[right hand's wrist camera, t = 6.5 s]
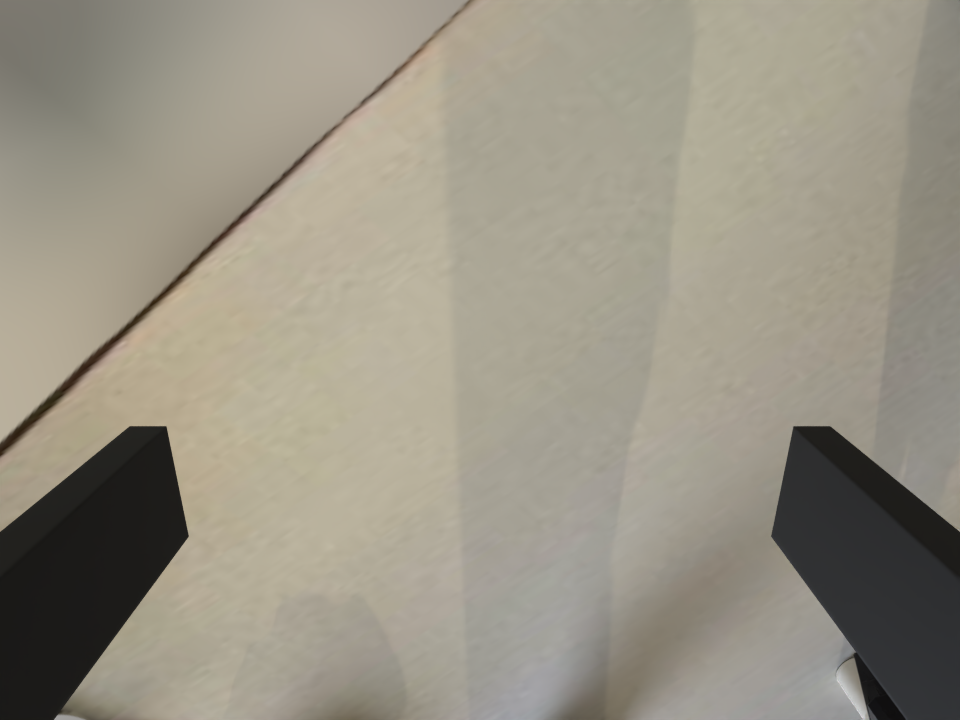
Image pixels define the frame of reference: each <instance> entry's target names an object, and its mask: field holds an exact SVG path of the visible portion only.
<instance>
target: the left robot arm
mask: <svg viewBox="0 0 960 720" xmlns="http://www.w3.org/2000/svg"><path fill="white" fill-rule="evenodd" d="M854 659H855V663H856V667H857V671H858V675H859V679H860V684H861V688H862V692H863V696H864V700H865V704H866V708H867V712H868V716H869V720H906V719H905V717H904V716H903V715H902V713H901V712H900V711H899V709H898V708H897V707H896V705H895V704H894V702H893V701H892V700H891V698H890V697H889V696H888V694H887V693H886V692H885V690H884V689H883V688H882V686H881V685H880V683H879V682H878V681H877V679H876V678H875V677H874V675H873V674H872V673H871V671H870V670H869V669H868V667H867V666H866V664H865V663H864V662H863V660H862V659H861V658H860V656H859V655H858V654H857V653H854Z"/></svg>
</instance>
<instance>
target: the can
mask: <svg viewBox="0 0 960 720" xmlns="http://www.w3.org/2000/svg"><path fill="white" fill-rule="evenodd" d="M836 677H837V680H838V682H839V684H840V685H841V687H842V688H843V690H844V691H845V693H846V694H847V696H848V697H849V699H850V700H851V702H852V703H853V705H854V706H855V708H856V709H857V711H858V712H859V714H860V715H861V717H862V718H863V720H869V716H868V712H867V708H866V704H865V700H864V696H863V692H862V688H861V684H860V679H859V675H858V671H857V667H856V663H855V659H854V658H852V659H849V660H847V661H846V662H844V663H843V664H842V665H841V666H840V667H839V669H838V670H837V674H836Z"/></svg>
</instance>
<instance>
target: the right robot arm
mask: <svg viewBox="0 0 960 720" xmlns="http://www.w3.org/2000/svg"><path fill="white" fill-rule="evenodd" d="M188 537H189V535H188V530H187V526H186V521H185V516H184V511H183V506H182V501H181V496H180V491H179V486H178V481H177V476H176V471H175V466H174V462H173V457H172V452H171V447H170V442H169V437H168V432H167V427H166V426H130V427H128V428H127V429H126V430H125V431H124V432H122V433H121V434H120V435H119V436H117V437H116V438H115V439H114V440H112V441H111V442H110V443H109V444H108V445H106V446H105V447H104V448H103V449H101V450H100V451H99V452H98V453H97V454H95V455H94V456H93V457H92V458H90V459H89V460H88V461H87V462H85V463H84V464H83V465H82V466H81V467H79V468H78V469H77V470H76V471H74V472H73V473H72V474H71V475H70V476H68V477H67V478H66V479H65V480H63V481H62V482H61V483H60V484H59V485H57V486H56V487H55V488H54V489H52V490H51V491H50V492H49V493H47V494H46V495H45V496H44V497H43V498H41V499H40V500H39V501H38V502H36V503H35V504H34V505H33V506H32V507H30V508H29V509H28V510H27V511H25V512H24V513H23V514H22V515H20V516H19V517H18V518H17V519H16V520H14V521H13V522H12V523H11V524H9V525H8V526H7V527H6V528H5V529H3V530H2V531H1V532H0V720H54V719H55V717H56V716H57V715H58V713H59V712H60V711H61V709H62V708H63V707H64V705H65V704H66V702H67V701H68V700H69V698H70V697H71V696H72V694H73V693H74V692H75V690H76V689H77V688H78V686H79V685H80V683H81V682H82V681H83V679H84V678H85V677H86V675H87V674H88V673H89V671H90V670H91V669H92V667H93V666H94V664H95V663H96V662H97V660H98V659H99V658H100V656H101V655H102V654H103V652H104V651H105V650H106V648H107V647H108V645H109V644H110V643H111V641H112V640H113V639H114V637H115V636H116V635H117V633H118V632H119V630H120V629H121V628H122V626H123V625H124V624H125V622H126V621H127V620H128V618H129V617H130V616H131V614H132V613H133V611H134V610H135V609H136V607H137V606H138V605H139V603H140V602H141V601H142V599H143V598H144V597H145V595H146V594H147V592H148V591H149V590H150V588H151V587H152V586H153V584H154V583H155V582H156V580H157V579H158V578H159V576H160V575H161V573H162V572H163V571H164V569H165V568H166V567H167V565H168V564H169V563H170V561H171V560H172V559H173V557H174V556H175V554H176V553H177V552H178V550H179V549H180V548H181V546H182V545H183V544H184V542H185V541H186V539H187V538H188ZM771 537H772V538H773V539H774V541H775V542H776V544H777V545H778V546H779V548H780V549H781V550H782V552H783V553H784V554H785V556H786V557H787V559H788V560H789V561H790V563H791V564H792V565H793V567H794V568H795V569H796V571H797V572H798V573H799V575H800V576H801V578H802V579H803V580H804V582H805V583H806V584H807V586H808V587H809V588H810V590H811V591H812V592H813V594H814V595H815V597H816V598H817V599H818V601H819V602H820V603H821V605H822V606H823V607H824V609H825V610H826V611H827V613H828V614H829V616H830V617H831V618H832V620H833V621H834V622H835V624H836V625H837V626H838V628H839V629H840V630H841V632H842V633H843V635H844V636H845V637H846V639H847V640H848V641H849V643H850V644H851V645H852V647H853V648H854V650H855V651H856V652H857V654H858V655H859V656H860V658H861V659H862V660H863V662H864V663H865V664H866V666H867V667H868V669H869V670H870V671H871V673H872V674H873V675H874V677H875V678H876V679H877V681H878V682H879V683H880V685H881V686H882V688H883V689H884V690H885V692H886V693H887V694H888V696H889V697H890V698H891V700H892V701H893V702H894V704H895V705H896V707H897V708H898V709H899V711H900V712H901V713H902V715H903V716H904V717H905V719H906V720H960V532H959V531H958V530H957V529H955V528H954V527H953V526H952V525H951V524H949V523H948V522H947V521H946V520H944V519H943V518H942V517H941V516H940V515H938V514H937V513H936V512H935V511H933V510H932V509H931V508H930V507H928V506H927V505H926V504H925V503H924V502H922V501H921V500H920V499H919V498H917V497H916V496H915V495H914V494H913V493H911V492H910V491H909V490H908V489H906V488H905V487H904V486H903V485H901V484H900V483H899V482H898V481H897V480H895V479H894V478H893V477H892V476H890V475H889V474H888V473H887V472H886V471H884V470H883V469H882V468H881V467H879V466H878V465H877V464H876V463H875V462H873V461H872V460H871V459H870V458H868V457H867V456H866V455H865V454H863V453H862V452H861V451H860V450H859V449H857V448H856V447H855V446H854V445H852V444H851V443H850V442H849V441H848V440H846V439H845V438H844V437H843V436H841V435H840V434H839V433H838V432H836V431H835V430H834V429H833V428H832V427H830V426H794V427H793V432H792V437H791V442H790V447H789V452H788V457H787V461H786V466H785V471H784V476H783V481H782V486H781V491H780V496H779V501H778V506H777V511H776V516H775V521H774V526H773V530H772V535H771Z"/></svg>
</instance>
